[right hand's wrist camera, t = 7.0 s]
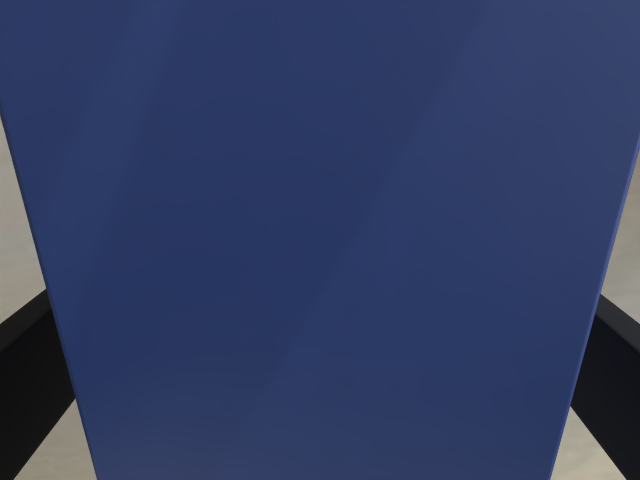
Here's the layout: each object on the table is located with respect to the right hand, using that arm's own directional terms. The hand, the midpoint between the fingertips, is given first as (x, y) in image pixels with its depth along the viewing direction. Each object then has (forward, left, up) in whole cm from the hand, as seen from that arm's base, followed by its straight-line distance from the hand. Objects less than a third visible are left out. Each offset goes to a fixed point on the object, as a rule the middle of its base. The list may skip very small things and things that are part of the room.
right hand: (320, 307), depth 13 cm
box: (0, +9, -4) cm, 10 cm away
